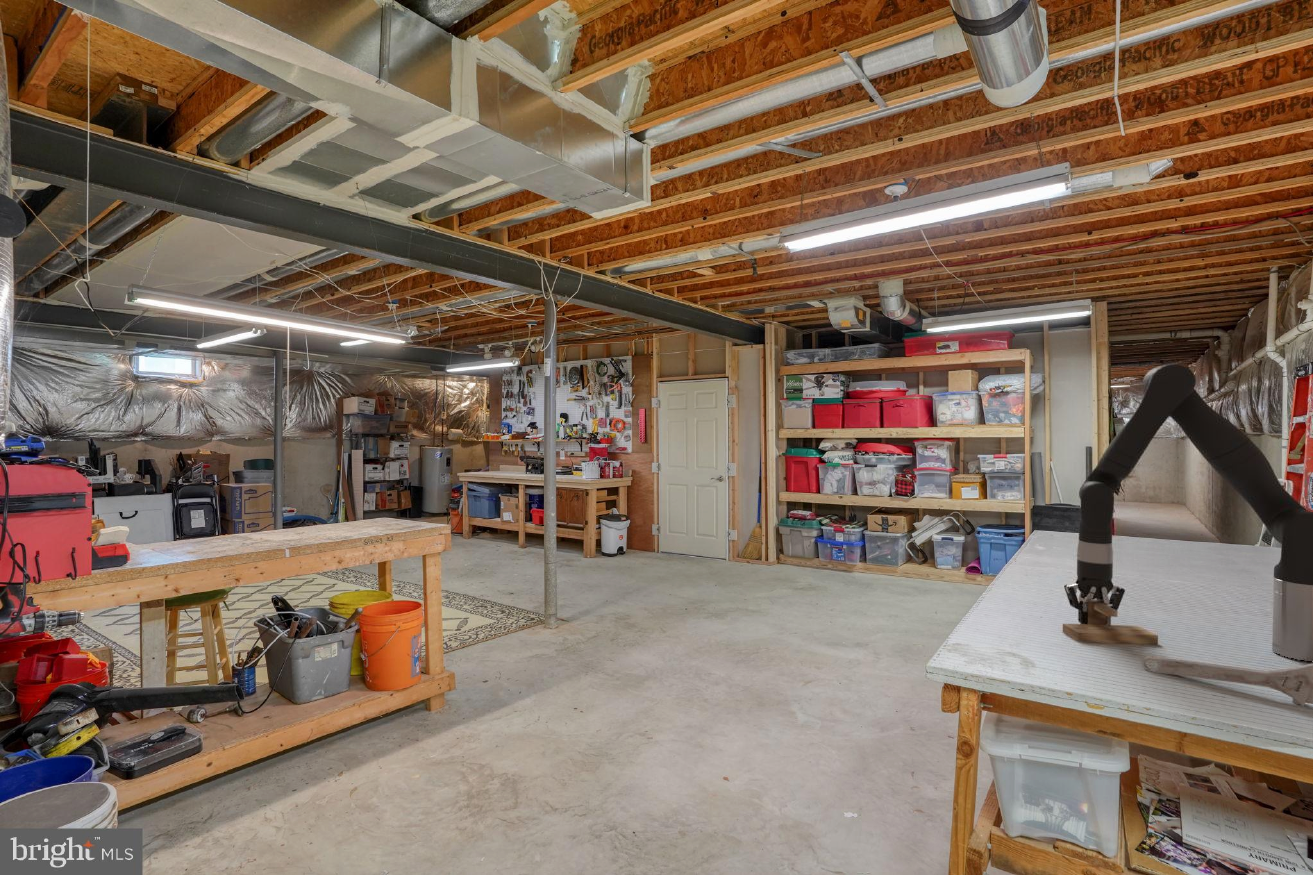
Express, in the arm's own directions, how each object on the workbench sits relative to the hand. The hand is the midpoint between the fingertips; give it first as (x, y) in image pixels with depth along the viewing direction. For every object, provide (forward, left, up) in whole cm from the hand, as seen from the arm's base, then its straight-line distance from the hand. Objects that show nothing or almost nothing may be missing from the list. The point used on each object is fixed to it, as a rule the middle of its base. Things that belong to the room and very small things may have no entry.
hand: (1093, 625), depth 161 cm
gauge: (0, +3, -1) cm, 3 cm away
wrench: (-7, +36, -2) cm, 36 cm away
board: (0, +6, -1) cm, 6 cm away
